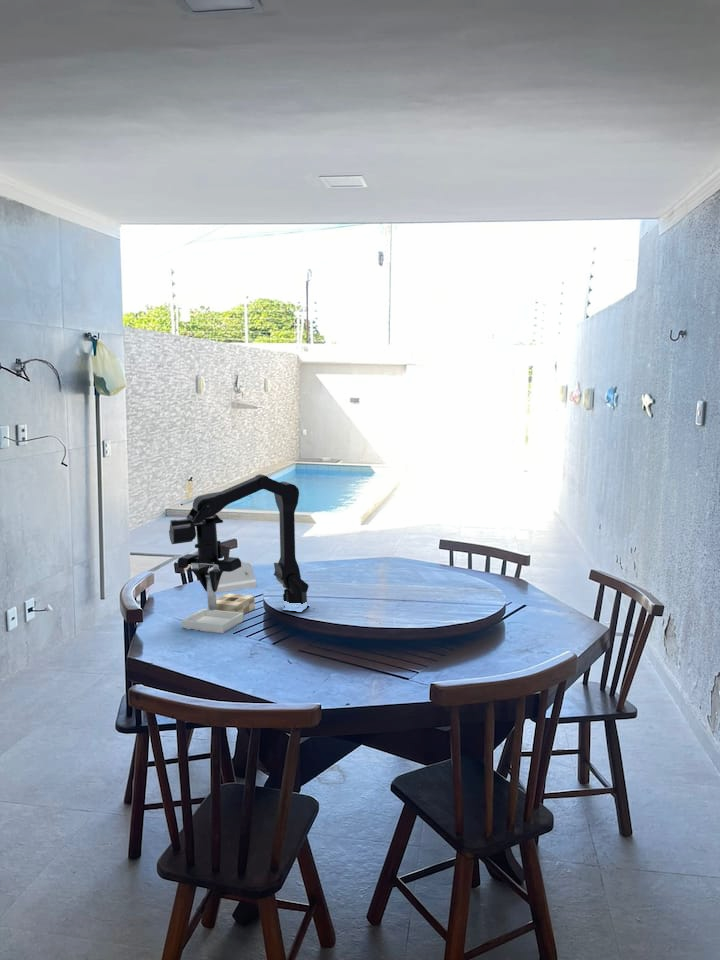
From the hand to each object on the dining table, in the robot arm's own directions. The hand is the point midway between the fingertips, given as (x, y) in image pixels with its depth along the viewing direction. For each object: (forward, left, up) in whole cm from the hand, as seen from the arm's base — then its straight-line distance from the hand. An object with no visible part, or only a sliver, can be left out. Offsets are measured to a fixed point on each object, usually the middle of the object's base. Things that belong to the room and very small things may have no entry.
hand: (211, 591), depth 225 cm
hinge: (+16, -34, -11) cm, 39 cm away
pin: (0, 0, -6) cm, 6 cm away
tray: (0, 0, -10) cm, 10 cm away
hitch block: (+1, -12, -10) cm, 16 cm away
